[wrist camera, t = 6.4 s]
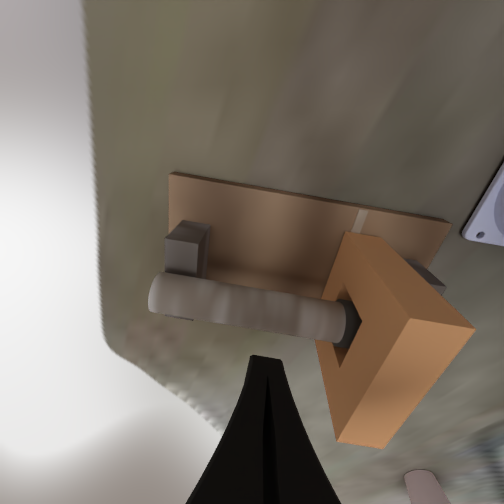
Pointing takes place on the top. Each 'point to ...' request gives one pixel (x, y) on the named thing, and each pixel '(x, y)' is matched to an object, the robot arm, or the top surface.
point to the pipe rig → (273, 256)
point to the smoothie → (424, 488)
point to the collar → (385, 341)
